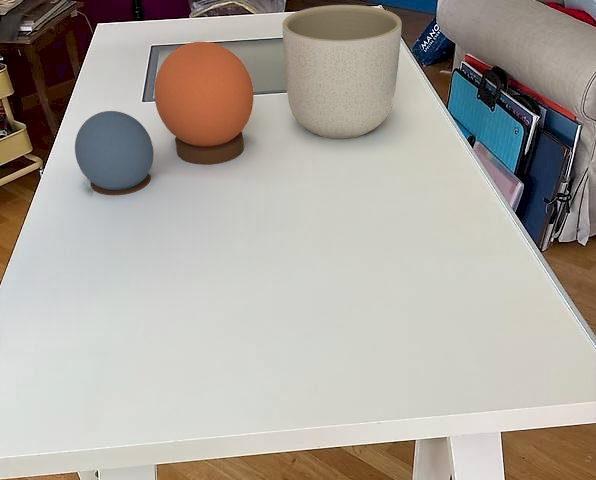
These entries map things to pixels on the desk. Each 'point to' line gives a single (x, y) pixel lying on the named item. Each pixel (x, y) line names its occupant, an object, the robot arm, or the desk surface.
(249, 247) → the desk surface
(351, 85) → the planter
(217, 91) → the terracotta ball
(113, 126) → the slate ball
